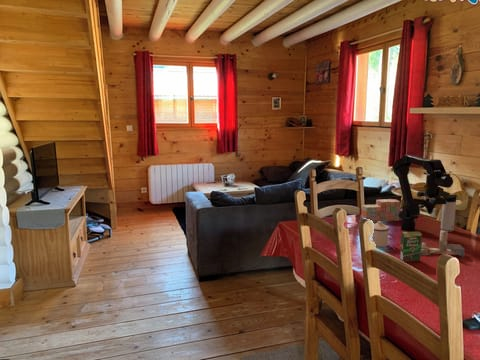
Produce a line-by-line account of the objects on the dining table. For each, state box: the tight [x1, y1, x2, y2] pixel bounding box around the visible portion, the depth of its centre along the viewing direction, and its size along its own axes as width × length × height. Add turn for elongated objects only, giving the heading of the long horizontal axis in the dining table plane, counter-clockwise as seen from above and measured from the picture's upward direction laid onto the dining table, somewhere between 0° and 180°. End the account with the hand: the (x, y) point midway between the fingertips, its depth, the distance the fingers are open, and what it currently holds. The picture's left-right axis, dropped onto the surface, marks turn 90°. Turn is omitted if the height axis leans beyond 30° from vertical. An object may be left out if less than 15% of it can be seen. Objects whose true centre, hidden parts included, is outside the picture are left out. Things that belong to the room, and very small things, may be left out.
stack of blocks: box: [360, 198, 401, 223], centre depth 222 cm, size 21×6×12 cm, turn 96°
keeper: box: [447, 243, 466, 259], centre depth 167 cm, size 5×6×4 cm
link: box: [421, 230, 457, 256], centre depth 168 cm, size 16×5×10 cm, turn 74°
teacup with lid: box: [372, 221, 390, 248], centre depth 182 cm, size 12×9×12 cm
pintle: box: [420, 241, 432, 256], centre depth 170 cm, size 6×6×5 cm
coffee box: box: [399, 231, 423, 263], centre depth 161 cm, size 8×3×13 cm, turn 90°
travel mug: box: [440, 194, 458, 233], centre depth 200 cm, size 6×7×20 cm
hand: (429, 213), depth 188 cm, fingers closed
